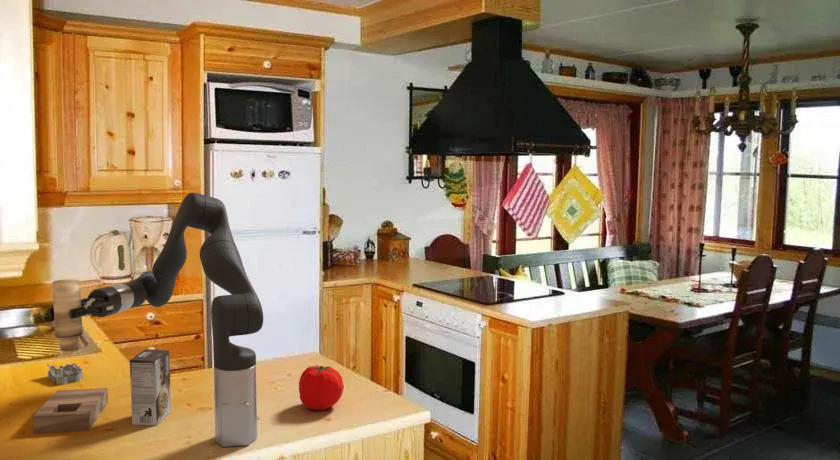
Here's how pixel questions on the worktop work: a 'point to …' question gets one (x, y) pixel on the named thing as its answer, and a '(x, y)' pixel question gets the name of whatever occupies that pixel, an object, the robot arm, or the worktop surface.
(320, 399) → the tomato
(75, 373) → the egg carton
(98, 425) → the worktop surface
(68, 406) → the seat board
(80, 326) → the stool leg
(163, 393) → the coffee box
